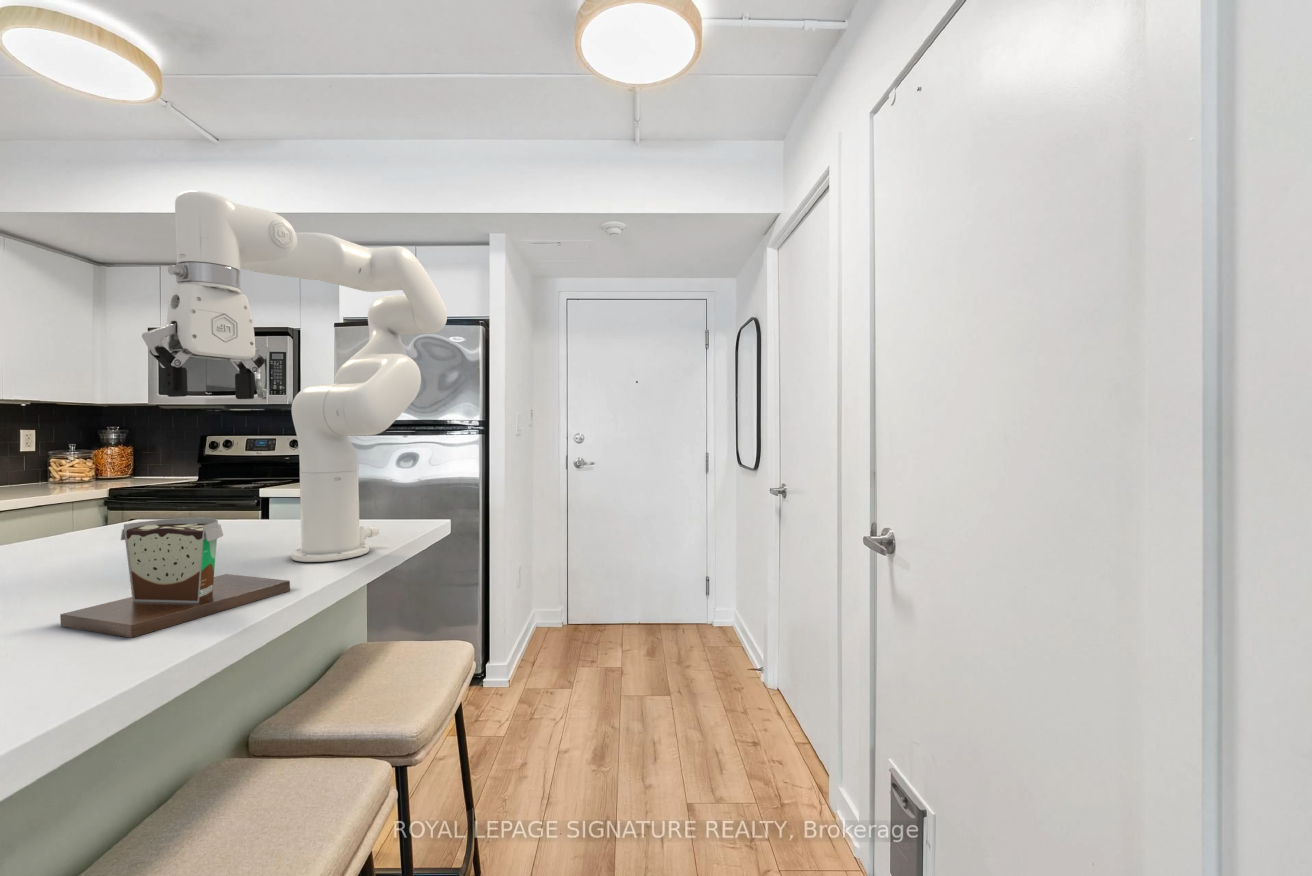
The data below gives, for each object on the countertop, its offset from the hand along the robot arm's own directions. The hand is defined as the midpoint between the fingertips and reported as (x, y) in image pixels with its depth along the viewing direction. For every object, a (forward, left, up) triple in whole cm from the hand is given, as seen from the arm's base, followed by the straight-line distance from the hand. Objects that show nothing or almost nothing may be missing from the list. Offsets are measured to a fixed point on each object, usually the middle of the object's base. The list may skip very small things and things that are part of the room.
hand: (212, 397), depth 88 cm
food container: (+8, +6, -27) cm, 29 cm away
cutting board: (+8, +6, -28) cm, 30 cm away
